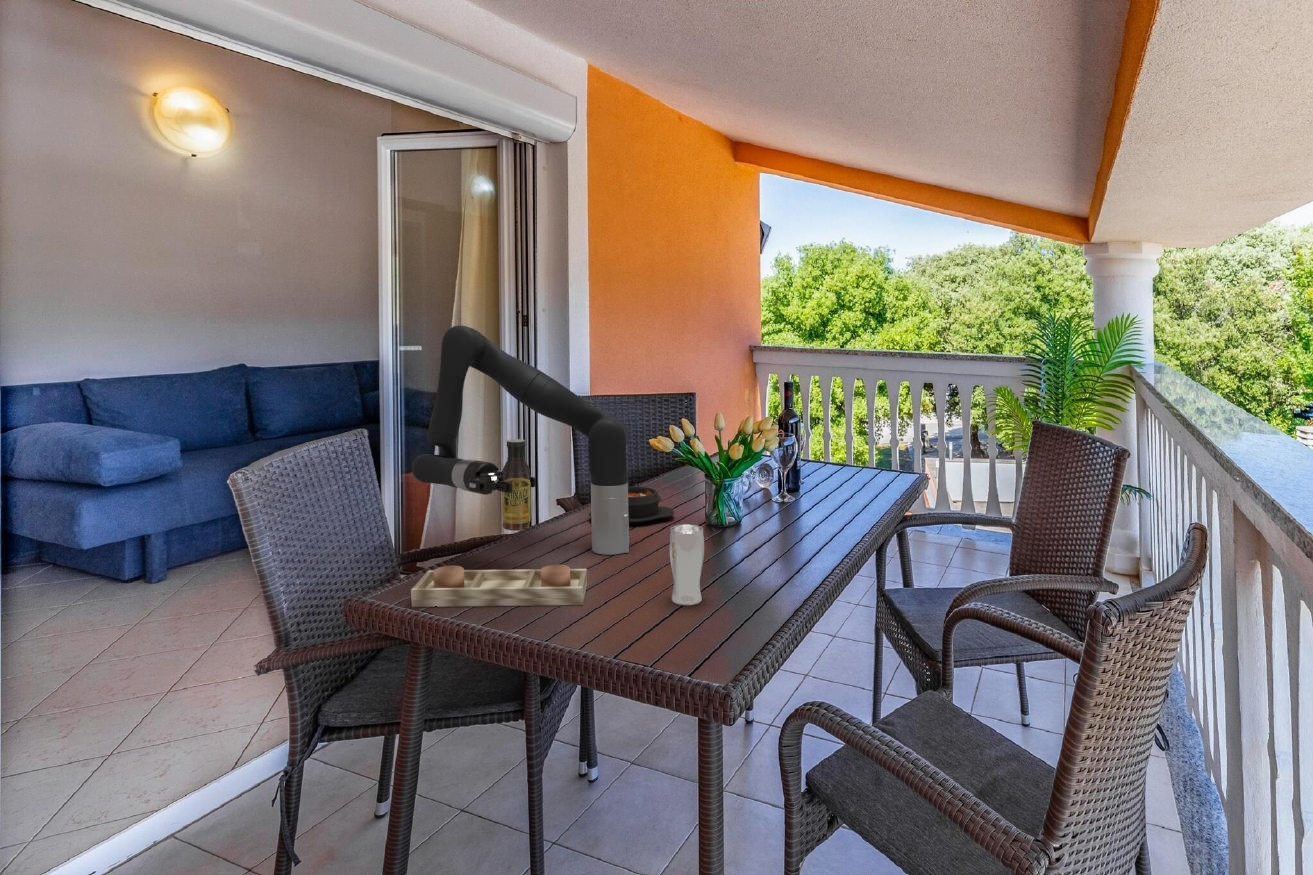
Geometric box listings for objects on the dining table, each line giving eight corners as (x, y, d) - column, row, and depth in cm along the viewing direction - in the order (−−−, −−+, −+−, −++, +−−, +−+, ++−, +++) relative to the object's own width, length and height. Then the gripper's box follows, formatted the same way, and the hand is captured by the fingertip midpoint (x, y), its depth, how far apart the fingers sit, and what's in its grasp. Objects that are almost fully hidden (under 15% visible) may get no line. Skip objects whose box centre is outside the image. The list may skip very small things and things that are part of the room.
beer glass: (667, 594, 151) (667, 524, 149) (701, 593, 151) (701, 523, 149) (671, 607, 144) (671, 533, 142) (706, 605, 145) (706, 532, 142)
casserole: (666, 509, 223) (666, 483, 222) (681, 525, 205) (681, 496, 204) (585, 514, 218) (585, 486, 217) (593, 530, 200) (592, 500, 199)
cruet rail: (587, 584, 157) (586, 559, 156) (582, 604, 145) (582, 578, 144) (429, 586, 156) (428, 561, 156) (411, 606, 145) (410, 580, 144)
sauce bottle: (502, 532, 159) (498, 443, 155) (502, 525, 165) (498, 438, 161) (532, 530, 160) (529, 441, 157) (532, 523, 166) (528, 437, 163)
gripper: (448, 465, 164) (496, 473, 153) (499, 456, 175) (546, 463, 164) (450, 497, 165) (498, 508, 154) (500, 486, 176) (548, 495, 165)
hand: (523, 485), depth 159 cm, fingers closed on sauce bottle, 6 cm apart
